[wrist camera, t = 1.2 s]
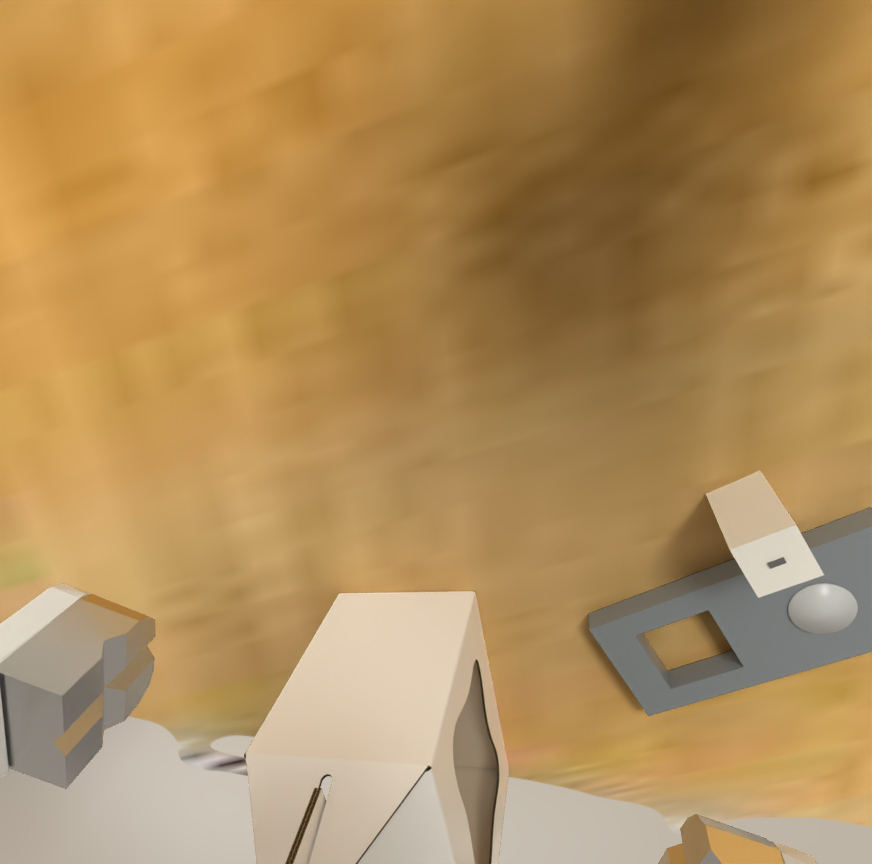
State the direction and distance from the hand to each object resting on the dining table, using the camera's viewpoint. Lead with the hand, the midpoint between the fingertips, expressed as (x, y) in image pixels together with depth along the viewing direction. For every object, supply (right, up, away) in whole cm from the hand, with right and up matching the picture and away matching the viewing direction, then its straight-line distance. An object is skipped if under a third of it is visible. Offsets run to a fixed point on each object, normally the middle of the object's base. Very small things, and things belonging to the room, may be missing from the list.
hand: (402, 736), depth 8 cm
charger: (+23, -1, +34) cm, 41 cm away
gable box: (0, -20, +48) cm, 52 cm away
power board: (+25, -10, +38) cm, 46 cm away
